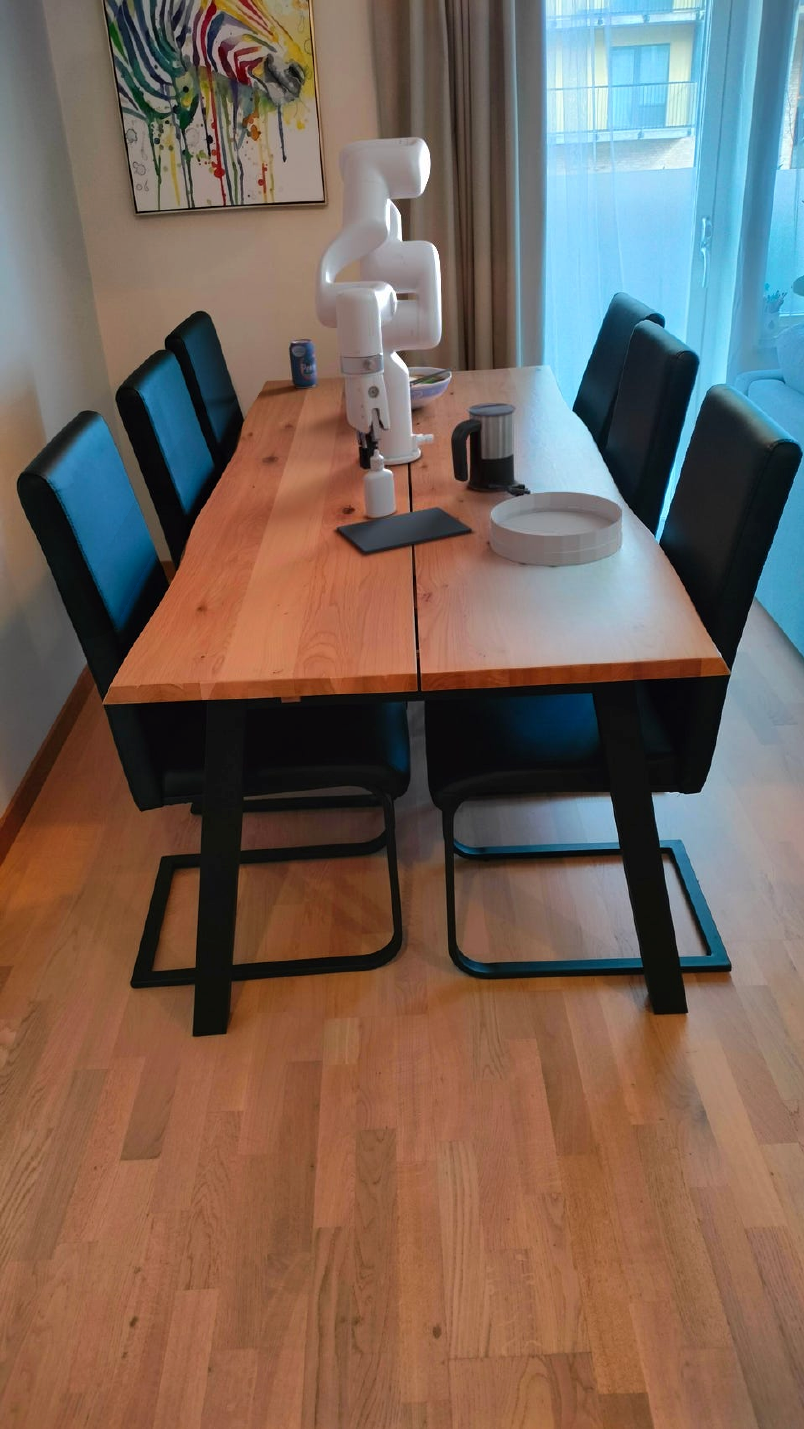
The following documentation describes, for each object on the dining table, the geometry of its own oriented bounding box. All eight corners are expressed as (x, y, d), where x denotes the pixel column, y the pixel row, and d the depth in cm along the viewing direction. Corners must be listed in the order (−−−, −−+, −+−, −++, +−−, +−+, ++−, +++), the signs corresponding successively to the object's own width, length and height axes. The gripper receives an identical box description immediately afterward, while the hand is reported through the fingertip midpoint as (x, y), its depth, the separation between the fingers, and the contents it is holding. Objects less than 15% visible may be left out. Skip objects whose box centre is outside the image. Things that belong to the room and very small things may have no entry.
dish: (590, 574, 160) (591, 544, 158) (466, 554, 171) (465, 525, 168) (642, 528, 176) (643, 500, 174) (525, 512, 187) (525, 485, 184)
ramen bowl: (400, 392, 275) (398, 360, 271) (473, 399, 263) (472, 366, 259) (342, 414, 258) (339, 380, 254) (416, 423, 246) (414, 388, 242)
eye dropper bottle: (364, 512, 192) (359, 448, 186) (394, 509, 193) (390, 445, 187) (366, 519, 189) (361, 454, 182) (397, 516, 189) (393, 452, 183)
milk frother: (484, 475, 208) (483, 400, 200) (554, 485, 199) (555, 407, 192) (446, 495, 198) (443, 418, 190) (517, 507, 189) (517, 426, 182)
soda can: (307, 389, 284) (303, 344, 278) (288, 387, 287) (283, 343, 281) (322, 384, 289) (318, 339, 283) (303, 382, 292) (298, 338, 286)
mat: (437, 509, 191) (437, 506, 191) (471, 532, 180) (471, 529, 179) (336, 530, 185) (336, 527, 184) (365, 554, 173) (365, 551, 173)
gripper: (398, 368, 176) (404, 474, 185) (366, 355, 188) (373, 455, 197) (357, 374, 173) (365, 481, 182) (327, 360, 185) (336, 461, 195)
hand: (369, 467), depth 190 cm, fingers closed
